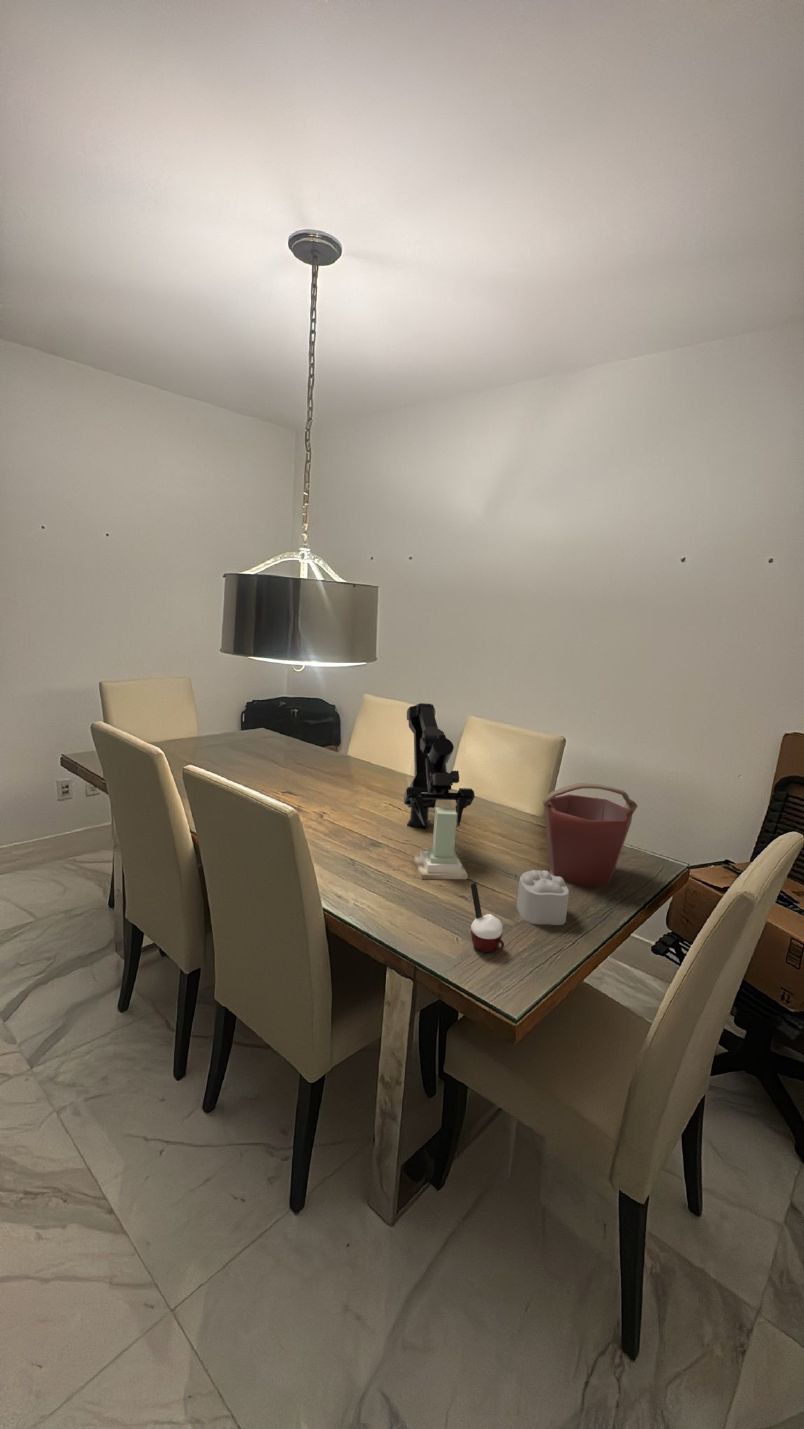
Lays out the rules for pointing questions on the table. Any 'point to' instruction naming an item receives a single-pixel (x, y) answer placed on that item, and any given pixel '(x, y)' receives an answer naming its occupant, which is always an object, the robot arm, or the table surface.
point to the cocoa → (485, 927)
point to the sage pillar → (444, 836)
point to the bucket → (585, 834)
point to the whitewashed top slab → (438, 864)
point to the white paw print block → (542, 898)
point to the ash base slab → (438, 875)
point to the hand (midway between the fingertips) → (441, 825)
